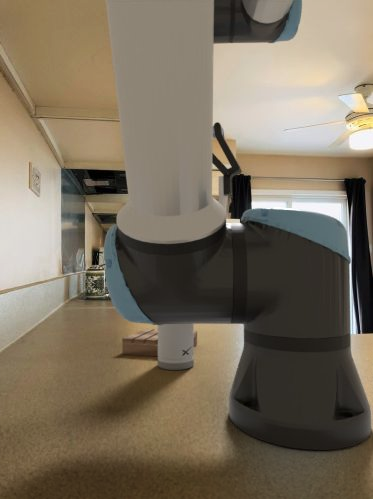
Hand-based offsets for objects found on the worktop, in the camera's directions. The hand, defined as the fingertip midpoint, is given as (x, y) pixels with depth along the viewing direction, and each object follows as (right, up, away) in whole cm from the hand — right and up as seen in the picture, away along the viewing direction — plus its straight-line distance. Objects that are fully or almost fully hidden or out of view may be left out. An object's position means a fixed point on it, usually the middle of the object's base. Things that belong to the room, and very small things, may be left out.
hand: (186, 216), depth 67 cm
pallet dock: (-5, -27, +9) cm, 29 cm away
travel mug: (-2, -27, -4) cm, 27 cm away
